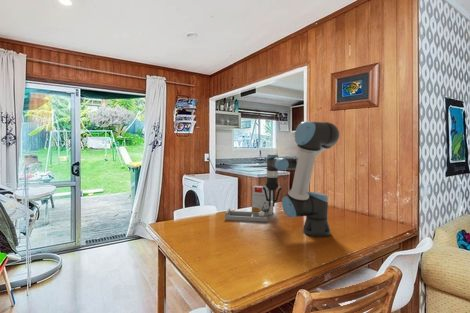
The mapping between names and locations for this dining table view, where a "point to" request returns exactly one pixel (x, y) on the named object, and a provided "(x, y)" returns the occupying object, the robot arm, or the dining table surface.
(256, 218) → the lane
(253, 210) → the hard drive box
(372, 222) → the dining table surface
